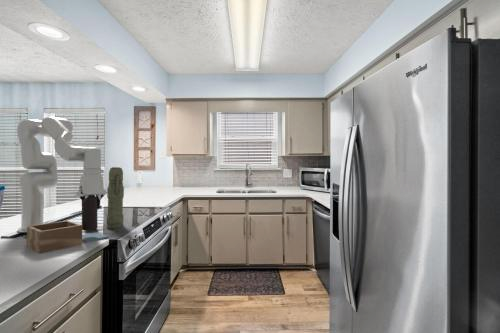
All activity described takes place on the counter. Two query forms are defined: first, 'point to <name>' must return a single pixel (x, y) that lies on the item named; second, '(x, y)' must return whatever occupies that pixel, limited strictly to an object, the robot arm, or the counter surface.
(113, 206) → the thermos
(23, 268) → the counter surface
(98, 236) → the mat
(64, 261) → the counter surface
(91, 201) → the vinegar
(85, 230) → the condiment
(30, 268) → the counter surface
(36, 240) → the crate
